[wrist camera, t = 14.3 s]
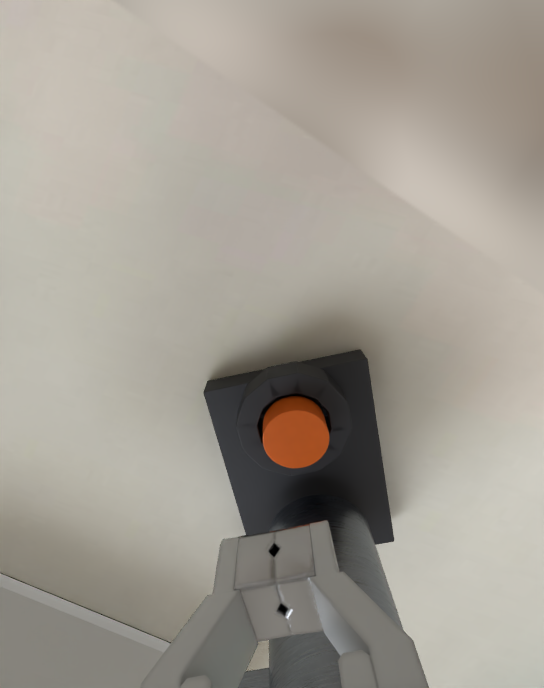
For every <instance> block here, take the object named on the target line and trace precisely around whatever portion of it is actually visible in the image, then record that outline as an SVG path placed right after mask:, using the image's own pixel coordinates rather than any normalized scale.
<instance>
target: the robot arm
mask: <svg viewBox="0 0 544 688" xmlns="http://www.w3.org/2000/svg"><path fill="white" fill-rule="evenodd" d="M320 631H324V633H325V635H326V636H327V638H328V639H329V640H330V642H331V643H332V645H333V646H334V647H335V649H336V650H337V652H338V653H339V655H340V656H341V657H340V658H339V660H338V664H339V671H340V679H341V686H342V688H429V686H428V683H427V680H426V677H425V674H424V671H423V669H422V666H421V663H420V660H419V657H418V654H417V651H416V648H415V645H414V642H413V640H412V639H411V638H410V637H409V636H408V635H407V634H406V633H405V632H404V631H403V630H402V629H401V628H400V627H399V626H398V625H397V624H396V623H395V622H394V621H393V620H392V619H391V618H390V617H389V616H388V615H387V614H386V613H385V612H384V611H383V610H382V609H381V608H380V607H379V606H378V605H377V604H376V603H375V602H374V601H373V600H372V599H371V598H370V597H369V596H368V595H367V594H366V593H365V592H364V591H363V590H362V589H361V588H360V587H359V586H358V585H357V584H356V583H355V582H354V581H353V580H352V579H351V578H350V577H349V576H347V575H346V574H345V573H344V572H340V571H339V567H338V562H337V558H336V553H335V549H334V545H333V540H332V536H331V531H330V527H329V523H328V521H327V520H325V521H320V522H315V523H310V524H306V525H301V526H296V527H290V528H285V529H280V530H275V531H270V532H264V533H258V534H251V535H245V536H240V537H235V538H228V539H223V540H222V542H221V544H220V549H219V555H218V562H217V568H216V575H215V581H214V588H213V594H211V595H207V596H206V597H205V599H204V600H203V601H202V603H201V604H200V605H199V607H198V608H197V609H196V611H195V612H194V613H193V615H192V616H191V617H190V619H189V620H188V621H187V623H186V624H185V625H184V627H183V628H182V629H181V631H180V632H179V633H178V635H177V636H176V637H175V639H174V640H173V641H172V643H171V644H170V645H169V647H168V648H167V649H166V651H165V652H164V653H163V655H162V656H161V657H160V659H159V660H158V661H157V663H156V664H155V665H154V667H153V668H152V669H151V671H150V672H149V673H148V675H147V676H146V677H145V679H144V680H143V681H142V683H141V685H140V688H238V686H239V684H240V682H241V680H242V678H243V675H244V673H245V671H246V669H247V667H248V665H249V663H250V661H251V659H252V656H253V654H254V652H255V650H256V648H257V646H258V642H260V641H265V640H270V639H275V638H280V637H285V636H290V635H297V634H305V633H313V632H320Z"/></svg>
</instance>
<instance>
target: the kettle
mask: <svg viewBox="0 0 544 688" xmlns="http://www.w3.org/2000/svg"><path fill="white" fill-rule="evenodd" d="M325 520H327V521H328V523H329V527H330V531H331V536H332V540H333V545H334V549H335V553H336V558H337V562H338V567H339V571H340V572H344V573H345V574H346V575H347V576H349V577H350V578H351V579H352V580H353V581H354V582H355V583H356V584H357V585H358V586H359V587H360V588H361V589H362V590H363V591H364V592H365V593H366V594H367V595H368V596H369V597H370V598H371V599H372V600H373V601H374V602H375V603H376V604H377V605H378V606H379V607H380V608H381V609H382V610H383V611H384V612H385V613H386V614H387V615H388V616H389V617H390V618H391V619H392V620H393V621H394V622H395V623H396V624H397V625H398V626H399V627H400V628H401V629H402V630H403V627H402V624H401V621H400V618H399V615H398V612H397V609H396V606H395V603H394V600H393V597H392V594H391V591H390V588H389V585H388V582H387V579H386V576H385V573H384V570H383V567H382V564H381V561H380V558H379V555H378V552H377V549H376V546H375V543H374V540H373V537H372V534H371V531H370V528H369V525H368V522H367V520H366V517H365V516H364V514H363V513H362V512H361V511H360V509H359V508H357V507H356V506H355V505H354V504H352V503H351V502H349V501H347V500H345V499H343V498H340V497H337V496H332V495H310V496H306V497H302V498H300V499H297V500H295V501H293V502H291V503H289V504H288V505H286V506H285V507H284V508H283V509H281V510H280V511H279V513H278V514H277V515H276V516H275V518H274V519H273V521H272V523H271V526H270V529H269V532H270V531H275V530H280V529H285V528H290V527H296V526H301V525H306V524H310V523H315V522H320V521H325ZM403 631H404V630H403ZM340 657H341V656H340V655H339V653H338V652H337V650H336V649H335V647H334V646H333V645H332V643H331V642H330V640H329V639H328V638H327V636H326V635H325V633H324V631H320V632H313V633H305V634H297V635H290V636H285V637H280V638H275V639H270V640H269V668H265V669H259V670H253V671H247V672H245V673H244V675H243V678H242V680H241V682H240V684H239V686H238V688H342V686H341V679H340V671H339V664H338V660H339V658H340Z"/></svg>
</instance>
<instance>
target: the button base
mask: <svg viewBox="0 0 544 688" xmlns="http://www.w3.org/2000/svg"><path fill="white" fill-rule="evenodd" d="M204 396H205V399H206V402H207V406H208V409H209V412H210V416H211V419H212V422H213V426H214V429H215V432H216V436H217V439H218V442H219V446H220V449H221V452H222V456H223V459H224V463H225V466H226V469H227V473H228V476H229V479H230V483H231V486H232V489H233V493H234V496H235V499H236V503H237V506H238V509H239V513H240V516H241V519H242V523H243V526H244V529H245V533H246V535H251V534H258V533H264V532H269V529H270V526H271V523H272V521H273V519H274V518H275V516H276V515H277V514H278V513H279V511H280V510H281V509H283V508H284V507H285V506H286V505H288V504H289V503H291V502H293V501H295V500H297V499H300V498H302V497H306V496H310V495H332V496H337V497H340V498H343V499H345V500H347V501H349V502H351V503H352V504H354V505H355V506H356V507H357V508H359V509H360V511H361V512H362V513H363V514H364V516H365V517H366V520H367V522H368V525H369V528H370V531H371V534H372V537H373V540H374V543H375V545H376V544H382V543H387V542H393V541H394V536H393V529H392V523H391V516H390V509H389V502H388V496H387V489H386V482H385V475H384V469H383V462H382V455H381V448H380V442H379V435H378V428H377V421H376V415H375V408H374V401H373V394H372V388H371V381H370V374H369V367H368V361H367V358H366V356H365V355H364V354H363V352H362V351H361V350H356V351H351V352H346V353H341V354H336V355H331V356H327V357H322V358H317V359H312V360H307V361H302V362H291V363H286V364H281V365H276V366H271V367H268V368H266V369H264V370H259V371H254V372H249V373H244V374H239V375H235V376H230V377H225V378H220V379H215V380H210V381H207V384H206V387H205V390H204ZM289 396H301V397H305V398H308V399H310V400H312V401H313V402H315V403H316V404H317V405H318V406H319V407H320V409H321V410H322V412H323V414H324V418H325V421H326V424H327V428H328V432H329V445H328V448H327V450H326V452H325V454H324V455H323V456H322V457H321V458H320V459H319V460H318V461H317V462H315V463H314V464H312V465H309V466H307V467H303V468H288V467H284V466H281V465H279V464H277V463H276V462H274V461H273V460H272V459H271V458H270V457H269V456H268V455H267V453H266V451H265V449H264V446H263V419H264V416H265V413H266V412H267V410H268V409H269V407H270V406H271V405H272V404H273V403H275V402H276V401H278V400H280V399H282V398H285V397H289Z"/></svg>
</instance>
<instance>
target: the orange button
mask: <svg viewBox="0 0 544 688" xmlns="http://www.w3.org/2000/svg"><path fill="white" fill-rule="evenodd" d="M328 445H329V432H328V428H327V424H326V421H325V418H324V414H323V412H322V410H321V409H320V407H319V406H318V405H317V404H316V403H315V402H313V401H312V400H310V399H308V398H305V397H301V396H289V397H285V398H282V399H280V400H278V401H276V402H275V403H273V404H272V405H271V406H270V407H269V409H268V410H267V412H266V413H265V416H264V419H263V446H264V449H265V451H266V453H267V455H268V456H269V457H270V458H271V459H272V460H273V461H274V462H276V463H277V464H279V465H281V466H284V467H288V468H303V467H307V466H309V465H312V464H314V463H315V462H317V461H318V460H319V459H320V458H321V457H322V456H323V455H324V454H325V452H326V450H327V448H328Z"/></svg>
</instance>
